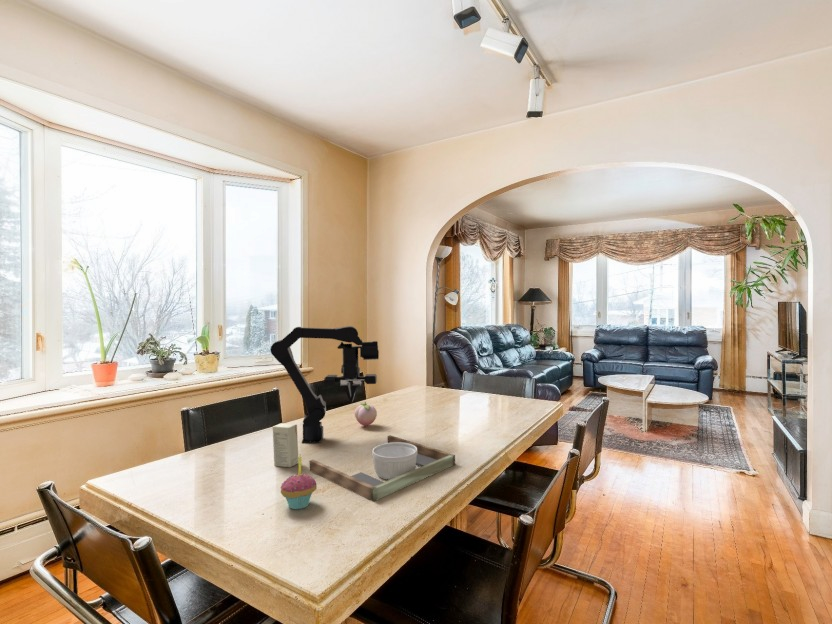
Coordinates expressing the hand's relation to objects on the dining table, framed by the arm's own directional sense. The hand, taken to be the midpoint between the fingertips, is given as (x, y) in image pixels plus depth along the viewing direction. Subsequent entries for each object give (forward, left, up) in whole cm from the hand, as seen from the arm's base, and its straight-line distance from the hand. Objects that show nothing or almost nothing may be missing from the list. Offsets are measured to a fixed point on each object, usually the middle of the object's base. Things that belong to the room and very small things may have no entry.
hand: (351, 402), depth 156 cm
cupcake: (-6, -52, -13) cm, 54 cm away
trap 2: (+24, -25, -13) cm, 37 cm away
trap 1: (+9, -40, -13) cm, 43 cm away
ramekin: (+17, -33, -13) cm, 40 cm away
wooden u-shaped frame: (+13, -29, -13) cm, 35 cm away
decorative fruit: (+4, +14, -13) cm, 20 cm away
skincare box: (-17, -25, -13) cm, 33 cm away
